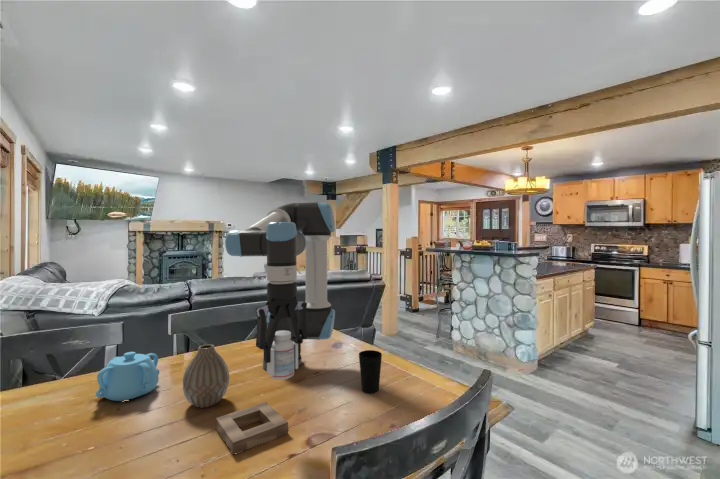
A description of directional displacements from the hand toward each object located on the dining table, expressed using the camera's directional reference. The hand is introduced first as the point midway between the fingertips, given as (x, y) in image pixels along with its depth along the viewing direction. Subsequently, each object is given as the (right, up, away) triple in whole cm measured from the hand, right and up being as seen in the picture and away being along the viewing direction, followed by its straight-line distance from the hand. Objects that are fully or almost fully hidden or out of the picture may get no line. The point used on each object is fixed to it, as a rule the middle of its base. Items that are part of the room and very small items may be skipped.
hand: (282, 370), depth 88 cm
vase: (-27, -17, +17) cm, 36 cm away
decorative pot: (-55, -17, +23) cm, 62 cm away
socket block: (-8, -16, +1) cm, 19 cm away
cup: (+23, -16, +25) cm, 38 cm away
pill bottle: (0, -2, 0) cm, 2 cm away
